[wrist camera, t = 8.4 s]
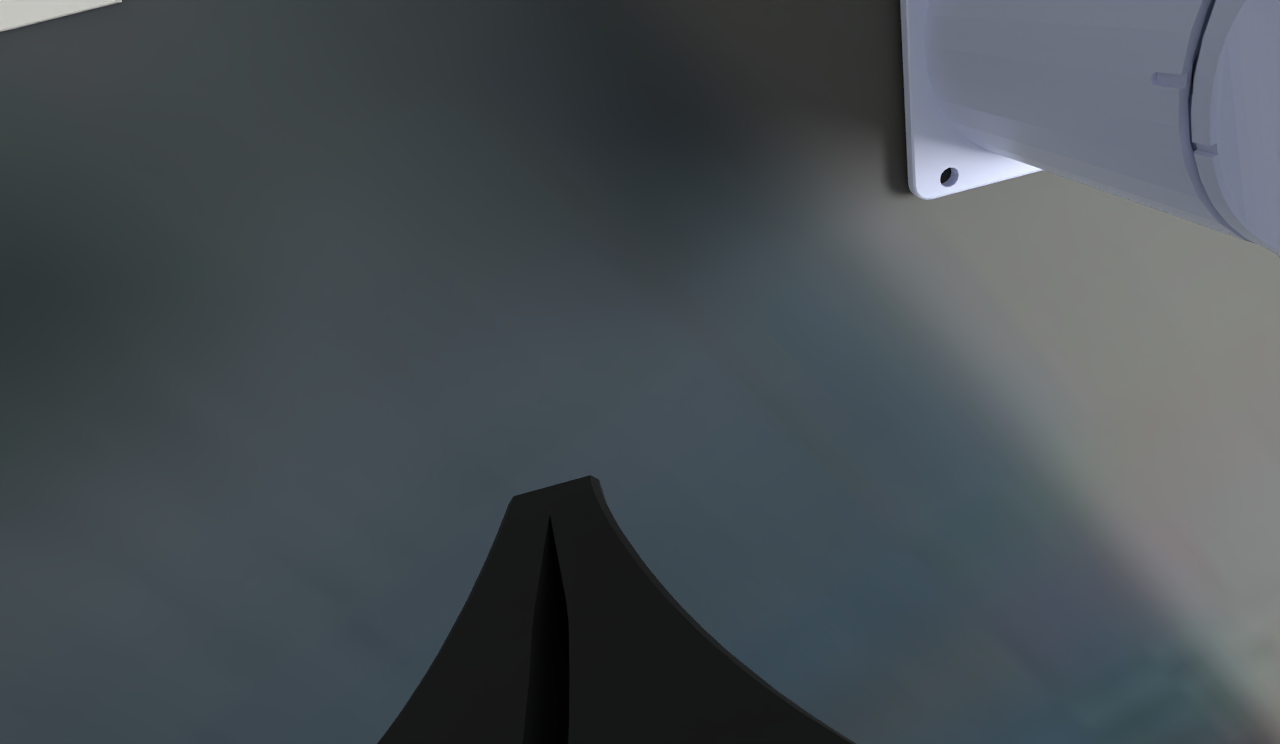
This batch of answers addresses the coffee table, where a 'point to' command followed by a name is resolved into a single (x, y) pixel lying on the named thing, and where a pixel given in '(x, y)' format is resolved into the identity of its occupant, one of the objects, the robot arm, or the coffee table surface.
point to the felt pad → (42, 10)
